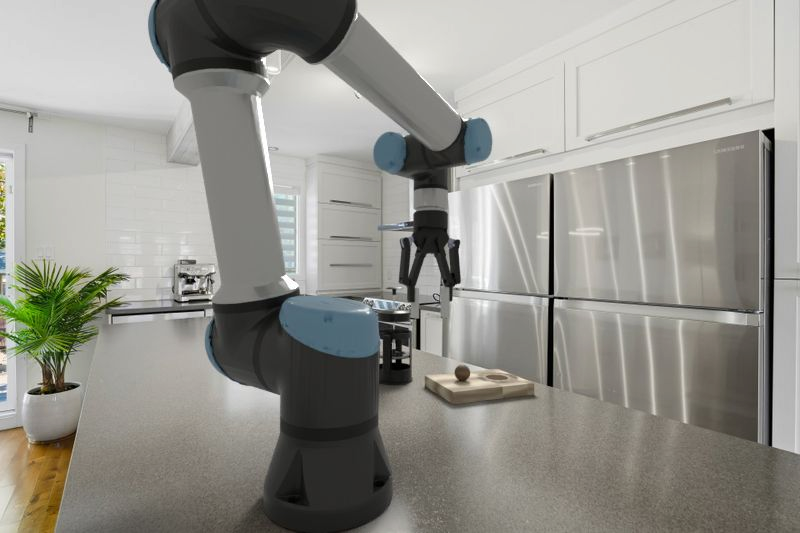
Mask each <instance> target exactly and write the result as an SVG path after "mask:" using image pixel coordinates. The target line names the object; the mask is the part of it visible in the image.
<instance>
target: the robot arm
mask: <svg viewBox="0 0 800 533" xmlns="http://www.w3.org/2000/svg"><path fill="white" fill-rule="evenodd" d="M150 7H151V8H150V10H149V14H148V18H147V19H148V20H147V29H148V38H149V40H150V44H151V47H152V49H153V51H154V53H155V55H156V57H157V58H158V60H159V61H160V63H161V64H164V66H166V68H167V70H168V71H167V72H169V73H170V74H171V76H172V83H173V86H174V89H175V91H177V92H178V93H180V94H181V95H182V96H184V97H185V98H186V99H187V101H189V102H190V108H191V114H192V120H193V126H194V131H195V132H194V133H195V138H196V143H197V149H198V154H199V162H200V167H201V172H202V179H203V184H204V190H205V191H204V192H205V196H206V197H205V198H206V202H207V207H208V208H207V209H208V213H209V220H210V225H211V231H212V237H213V243H214V249H215V250H214V251H215V256H216V260H217V267H218V272H219V277H220V278H219V279H220V286H219V288H218V289H217V291H216V292H215V293H214V294H213V296H212V298H211V304H212V305H211V306H212V310H213V315H212V317H211V321H209V323H208V324H207V326H206V329H205V334H204V348H205V352H206V355H207V358H208V360H209V363H211V365H212V366H213V367H214V369H215V370H216V371H217V372H218V373H220V374H221V375H222V376H224V377H226V378H227V379H229V380H230V381H232V382H233V383H234V382H235V383H238V385H242V386H246V387H253V388H256V389H259V390H262V391H265V392H268V393H272V394H274V395H278V396H279V399H280V400H279V435H278V438H277V442H276V445H275V448H274V451H273V454H272V457H271V459H270V462H269V467H268V468H267V472H266V475H265V478H264V481H263V489H262V490H263V494H262V495H263V498H262V500H263V501H262V502H263V510H264V512H265V513H266V516H267V517H268V518H269V519H270V520H271V521H273V522H274V523H275V524H276V525H279V526H281V527H283V528H285V529H288V530H293V531H296V532H301V533H335V532H340V531H345V530H349V529H353V528H356V527H359V526H362V525H363V524H367V523H368V522H370V521H373V519H375V518H376V517H378V516H380V515H381V514H382V513H383V512H384V511H385V510H386V509H387V508H388V507H389V505H390V503H391V502H392V499H393V495H394V494H393V492H394V490H393V487H394V486H393V485H394V484H393V480H394V479H393V471H392V467H391V464H390V461H389V457H388V455H387V451H386V448H385V445H384V442H383V438H382V435H381V432H380V426H379V408H380V407H379V406H380V405H379V404H380V383H379V368H380V364H381V360H380V359H381V358H380V352H381V345H382V344H381V339H380V336H379V330H380V329H379V321H378V314H377V313H376V311H375V309H374V308H373V307H372V306H370V305H368V304H367V303H364V302H362V301H358V300H354V299H349V298H346V297H345V298H343V297H331V296H326V295H301V291H300V284H299V283H297V282H296V281H294V280H293V279H292V278H291V277H289V276H288V275H287V269H286V264H285V256H284V252H283V243H282V238H281V231H280V223H279V216H278V210H277V204H276V197H275V191H274V184H273V177H272V170H271V165H270V164H271V163H270V157H269V150H268V144H267V137H266V130H265V124H264V118H263V111H262V110H263V109H262V104H261V100H262V98H263V97H264V96H265V95H266V94H267V93H268V91H269V90H270V89H271V88H270V87H271V84H270V78H269V76H270V75H269V71H268V63H267V56H270V55H271V54H272V53H274V52H276V51H287V52H290V53H292V54H295V55H297V56H298V57H299V58H300V59H302V61H304V62H306V63H307V64H308V65H310V66H311V65H312V66H318V65H323V66H324V67H325V68H327V69H328V70H329V71H330V72H331V73H333V74H334V75H335V76H336V77H338V78H339V79H340V80H342V81H343V82H344V83H345V84H346V85H348V86H349V87H350V88H351V89H353V90H355V92H357V93H358V94H359V95H361V96H362V97H363V98H364V99H366V100H367V101H368V102H369V103H370V104H372V105H373V106H374V107H376V108H377V109H378V110H380V112H382V113H383V114H384V115H385V116H387V117H388V118H389V119H391V120H392V121H393V122H394V123H396V124H397V125H398V126H399V127H401V128H402V129H403V130H404V131H406V132H407V133H408V134H407V135H403V134H402V133H400V132H394V131H385V132H384V133H382V134H381V135H380V136H378V138H377V140H376V141H375V143H374V146H373V150H372V151H373V154H372V155H373V161H374V164H375V165H376V167H377V168H378V169H379V170H382V171H384V172H386V173H388V174H389V175H392V176H399V177H402V178H405V179H409V180H412V181H413V210H415V211H414V213H413V222H412V223H413V225H412V227H413V228H412V229H413V231H412V234H411V236H409V237H407V236H406V237H401V238H400V239H399V244H400V249H401V250H400V251H401V252H400V261H399V272H398V283H399V284H400V285H403V286H405V287H406V292H407V293H406V296H407V297H406V300H407V302H408V303H410V311H411V314H410V318H412V319H416V320H417V319H420V287H416V285H417V283H418V279H419V276H420V274H421V269H422V266H423V264H424V261H425V258H426V257H427V254H430V255H433V257H434V258H435V259H436V260H435V261H436V263H437V266H438V271H439V273H440V277H441V280H442V283H443V286H440V317H443V318H450V302H453V288H454V287H455V286H456V285H459V284H461V283H462V279H461V278H462V276H461V265H460V264H461V263H460V251H459V250H460V246H461V240H460V239H457V238H456V239H454V238H451V237H450V235H449V234H448V229H449V228H448V227H449V214H448V211H447V210H448V209H449V188H448V187H449V185H448V183H449V182H448V180H449V169H450V168H456V167H463V166H471V165H473V164H476V163H481V162H484V161H486V160H487V159H489V158H490V155H491V153H492V151H493V150H492V149H493V134H492V131H491V127H490V125H489V123H488V121H486V119H485V118H483V117H473V118H472V117H469V118H468V119H464V118H463V117H462V116H461V115H460V114H459V113H457V111H456V110H455V109H454V108H453V107H452V106H451V105H450V104H449V103H448V102H447V101H446V100H445V99H444V98H443V97H442V96H441V94H439V92H437V91H436V89H434V88H433V87H432V85H431V84H430V83H429V82H427V80H426V79H425V78H424V77H423V76H421V74H419V72H418V71H417V70H416V69H415V68H414V67H413V66H412V65H411V64H410V63H409V62H408V61H407V60H406V59H405V58H404V57H403V55H401V54H400V53H399V52H398V50H396V49H395V48H394V47H393V46H392V45H391V44H390V42H389V41H387V40H386V39H385V38H384V36H383V35H381V33H380V32H379V31H378V30H376V28H375V27H374V26H373V25H372V24H371V23H370V22H369V21H368V20H367V19H366V18H365V17H364V16H363V15H362V14H361V13H360V11H358V10H359V9H358V0H154V1H153V2H152V5H151V6H150ZM413 244H414V246H415V247H416V251H415V252H414V259H413V262H412V265H411V264H410V263H411V251H412V248H411V247H412V245H413ZM446 246H447V247H448V259H449V263H448V260H447V258H446V257H447V254H446V250H445V247H446ZM410 265H411V268H410Z"/></svg>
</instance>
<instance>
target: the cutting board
mask: <svg viewBox="0 0 800 533" xmlns="http://www.w3.org/2000/svg"><path fill="white" fill-rule="evenodd" d="M424 387H426V388H427V389H429V390H430V391H431V392H433V393H435V394H436V395H438V396H439V397H441V398H442V399H444V400H446V401H447V402H449V403H450V404H452V405H459V404H460V405H461V404H468V403H475V402H483V401H484V402H485V401H490V400H491V401H493V400H500V399H508V398H516V397H524V396H532V395H533V396H534V395H535V383H534V382H532V381H530V380H528V379H524V378H523V377H520V376H518V375H515V374H512V373H509V372H507V371H504V370H501V369H499V368H493V369H491V368H490V369H483V370H482V369H480V370H470V377H469V378H468V379H467V380H465V381H460V380H458V379H457V378H456V377H455V373H454V372H449V373H439V374H438V373H437V374H428V375H427V374H425V375H424Z"/></svg>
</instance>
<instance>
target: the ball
mask: <svg viewBox="0 0 800 533" xmlns="http://www.w3.org/2000/svg"><path fill="white" fill-rule="evenodd" d="M470 371H471V370H470V368H469V367H468V366H467V365H466V364H459V365H458V366H456V367H455V369H454V372H453V373H455V377H456V378H457V379H458V380H460V381H465V380H467V379H468V378H469V377H470Z"/></svg>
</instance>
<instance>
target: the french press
mask: <svg viewBox="0 0 800 533" xmlns="http://www.w3.org/2000/svg"><path fill="white" fill-rule="evenodd" d="M385 289H386V290H392V291H391V293H392V296H393V306H392V308H393V309H392V308H391V309H383V310H382V309H381V310H377V311H375V312H376V314H377V318H378V322H382V323H393V325H392V327H393V328H385V329H384V328H383V329H379V336H380V340H382V351H380V359H382V363H381V362H380V368H379V384H381V385H382V384H383V385H390V386H399V385H406V384H410V383H411V382H413V380H414V379H413V375H412V374H413V373H412V372H413V369H412V368H413V331H412V330H410V329H404V328H395V327H396V323H405V322H407V323H408V322H410V321H411V310H406V309H396V295H397V290H403V288H402V287H400V286H388V287H386V288H385ZM407 339H409V351H403V340H407ZM405 359H408V360H409V361H408V362H409V364H408V363H405V362H403V360H405ZM393 360H394V361H393Z"/></svg>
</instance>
